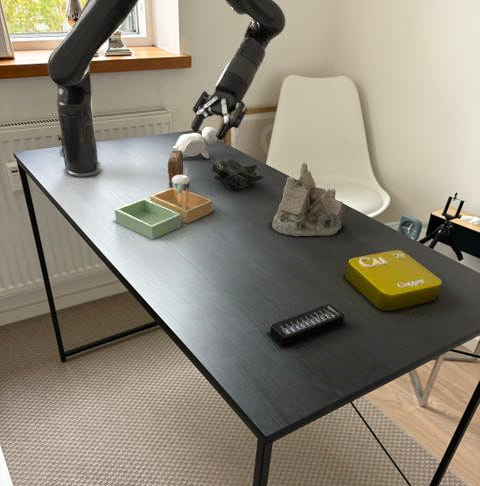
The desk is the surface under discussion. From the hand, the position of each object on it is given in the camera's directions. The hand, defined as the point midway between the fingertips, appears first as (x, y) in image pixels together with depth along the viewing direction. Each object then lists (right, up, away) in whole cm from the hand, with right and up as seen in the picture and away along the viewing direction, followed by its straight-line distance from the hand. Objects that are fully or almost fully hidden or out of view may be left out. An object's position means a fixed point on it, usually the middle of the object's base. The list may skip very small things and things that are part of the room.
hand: (205, 134), depth 125 cm
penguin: (-6, +7, +39) cm, 40 cm away
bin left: (-14, -24, -3) cm, 28 cm away
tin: (-10, -7, +19) cm, 23 cm away
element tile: (+41, -41, -20) cm, 61 cm away
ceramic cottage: (+26, -23, +2) cm, 35 cm away
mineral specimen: (+8, -8, +20) cm, 23 cm away
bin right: (-7, -18, +5) cm, 20 cm away
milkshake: (-7, -18, +5) cm, 20 cm away
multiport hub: (+21, -50, -33) cm, 63 cm away
